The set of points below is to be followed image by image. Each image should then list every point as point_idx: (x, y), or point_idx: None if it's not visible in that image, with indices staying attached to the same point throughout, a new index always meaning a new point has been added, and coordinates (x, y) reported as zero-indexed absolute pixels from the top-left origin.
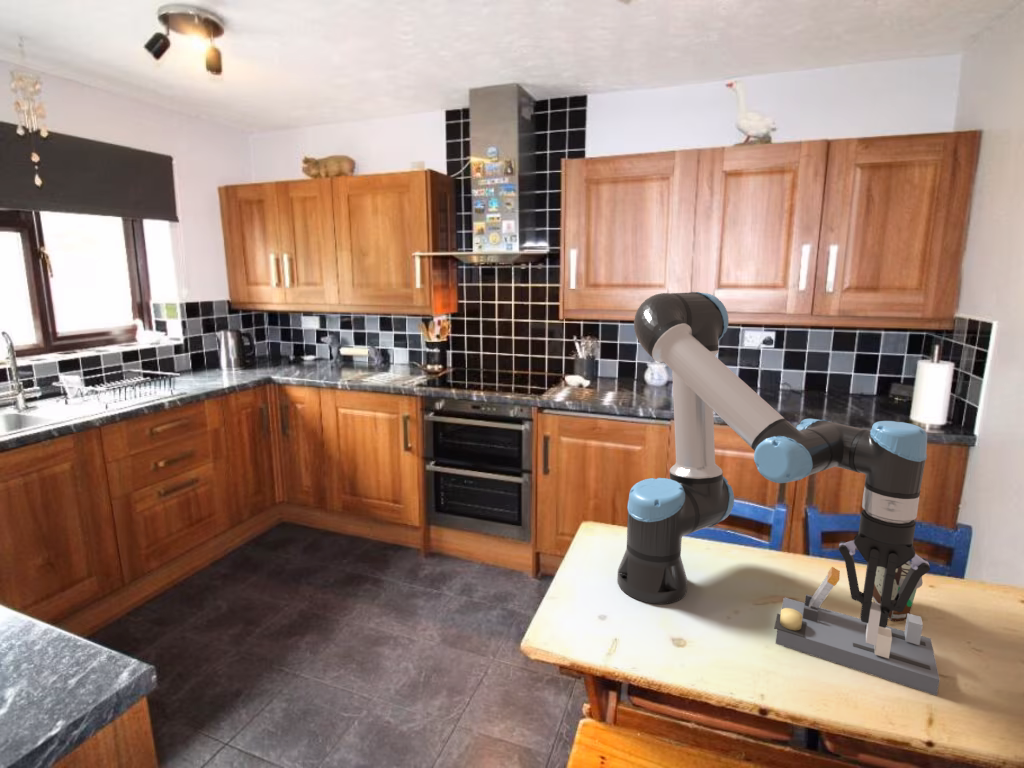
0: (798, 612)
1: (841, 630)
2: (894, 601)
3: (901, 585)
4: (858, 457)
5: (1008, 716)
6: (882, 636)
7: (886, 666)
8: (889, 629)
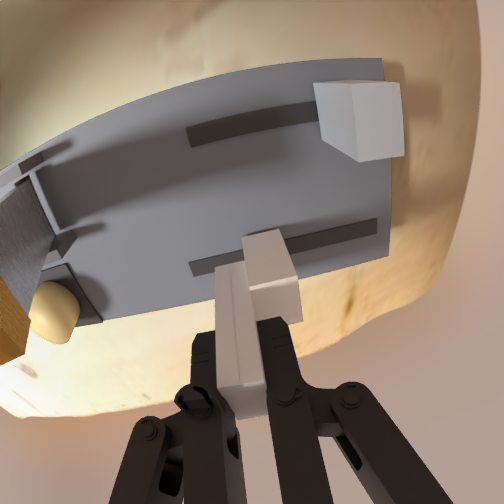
0: (46, 310)
1: (138, 224)
2: (334, 428)
3: (386, 494)
4: None
5: (457, 204)
6: None
7: None
8: (292, 281)
